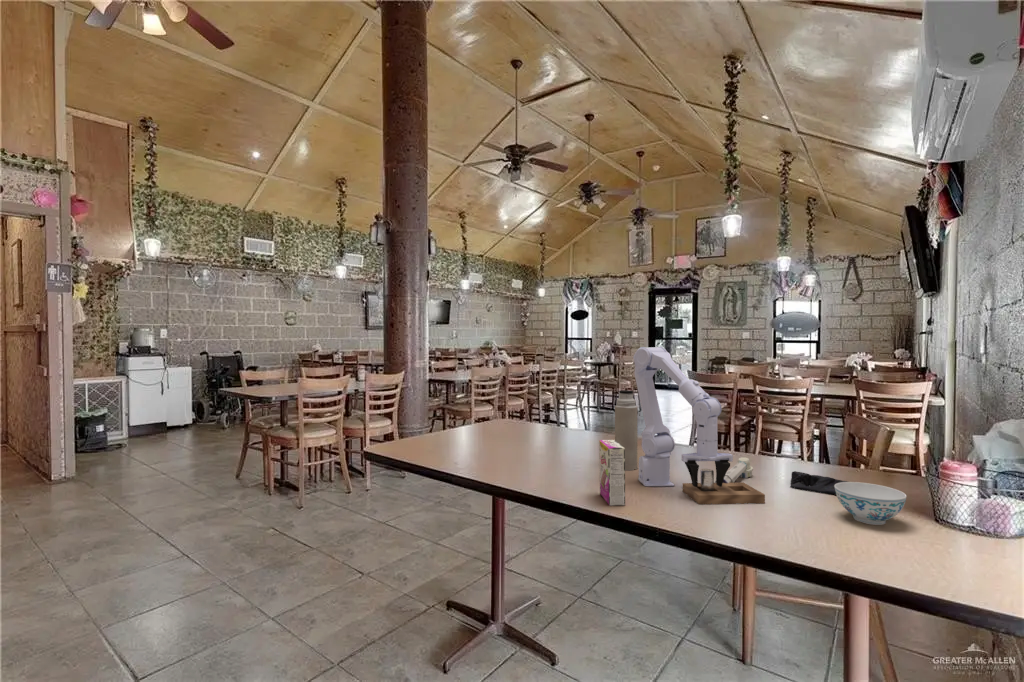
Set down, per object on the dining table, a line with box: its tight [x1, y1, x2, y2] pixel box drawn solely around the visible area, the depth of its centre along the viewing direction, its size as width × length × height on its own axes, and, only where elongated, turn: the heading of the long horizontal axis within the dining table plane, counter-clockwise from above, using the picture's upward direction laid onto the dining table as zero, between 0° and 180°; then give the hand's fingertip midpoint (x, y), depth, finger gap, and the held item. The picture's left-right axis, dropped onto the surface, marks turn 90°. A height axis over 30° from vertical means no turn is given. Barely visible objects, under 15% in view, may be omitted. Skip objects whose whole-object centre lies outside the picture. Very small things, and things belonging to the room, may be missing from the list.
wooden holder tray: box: [681, 481, 766, 505], centre depth 146 cm, size 19×12×2 cm, turn 92°
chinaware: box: [834, 481, 907, 526], centre depth 128 cm, size 15×15×8 cm
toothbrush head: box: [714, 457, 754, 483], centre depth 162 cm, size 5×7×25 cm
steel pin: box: [699, 468, 715, 491], centre depth 146 cm, size 4×4×8 cm
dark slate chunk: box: [789, 470, 849, 496], centre depth 154 cm, size 15×22×5 cm
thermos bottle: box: [614, 389, 638, 471], centre depth 181 cm, size 8×8×28 cm
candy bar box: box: [598, 439, 626, 507], centre depth 144 cm, size 11×5×16 cm, turn 4°
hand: (707, 485), depth 146 cm, fingers open, 7 cm apart
